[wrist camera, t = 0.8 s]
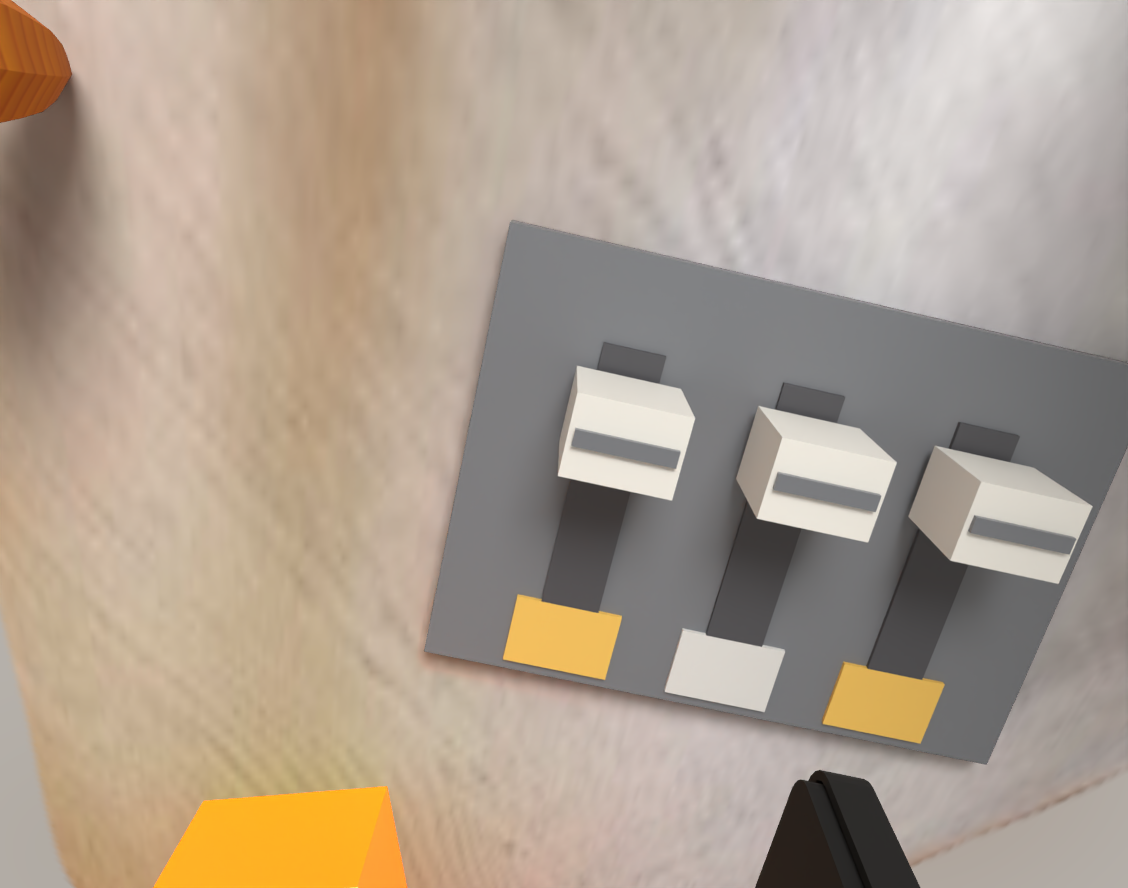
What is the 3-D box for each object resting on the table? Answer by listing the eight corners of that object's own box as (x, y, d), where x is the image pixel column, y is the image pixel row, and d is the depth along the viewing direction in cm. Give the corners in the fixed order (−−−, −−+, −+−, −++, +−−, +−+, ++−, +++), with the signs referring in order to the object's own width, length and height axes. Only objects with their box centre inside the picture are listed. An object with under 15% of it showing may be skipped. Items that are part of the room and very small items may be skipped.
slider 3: (1033, 467, 34) (1096, 508, 30) (1004, 537, 35) (1061, 586, 31) (934, 445, 33) (983, 483, 29) (908, 516, 34) (952, 563, 30)
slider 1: (681, 389, 33) (696, 419, 29) (660, 462, 34) (672, 502, 30) (576, 365, 33) (577, 393, 29) (559, 440, 34) (557, 478, 30)
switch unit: (1140, 365, 34) (1163, 373, 33) (974, 747, 40) (988, 767, 38) (512, 219, 33) (510, 222, 31) (428, 636, 38) (423, 654, 37)
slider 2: (859, 428, 33) (899, 464, 29) (835, 500, 34) (870, 545, 30) (758, 405, 33) (783, 439, 29) (736, 478, 34) (757, 521, 30)
